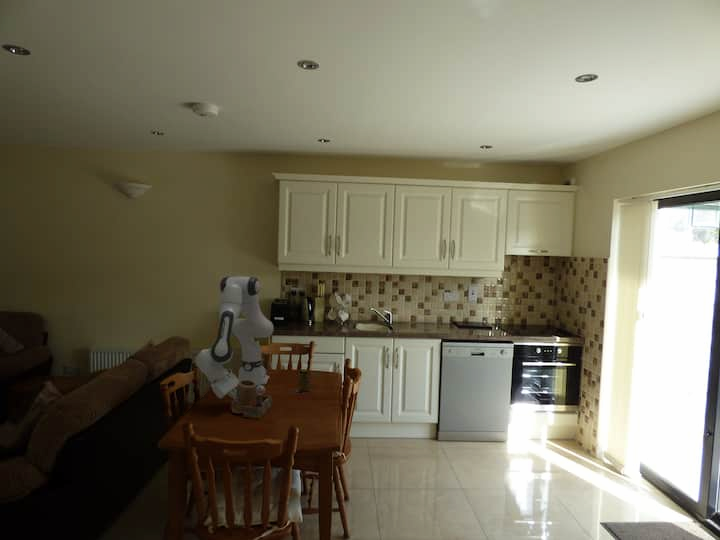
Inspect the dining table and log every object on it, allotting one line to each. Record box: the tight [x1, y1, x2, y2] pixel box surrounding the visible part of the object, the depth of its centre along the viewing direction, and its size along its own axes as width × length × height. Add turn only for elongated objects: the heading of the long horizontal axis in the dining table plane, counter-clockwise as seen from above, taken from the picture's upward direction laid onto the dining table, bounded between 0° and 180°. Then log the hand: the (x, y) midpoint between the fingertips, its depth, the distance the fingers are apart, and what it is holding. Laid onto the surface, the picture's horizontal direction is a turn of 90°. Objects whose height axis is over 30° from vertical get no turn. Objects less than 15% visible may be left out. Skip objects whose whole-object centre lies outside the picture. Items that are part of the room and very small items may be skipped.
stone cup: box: [230, 380, 257, 414], centre depth 225 cm, size 15×12×15 cm
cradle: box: [242, 384, 274, 419], centre depth 224 cm, size 19×10×15 cm, turn 172°
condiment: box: [294, 369, 310, 395], centre depth 258 cm, size 7×8×12 cm
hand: (237, 397), depth 225 cm, fingers closed
